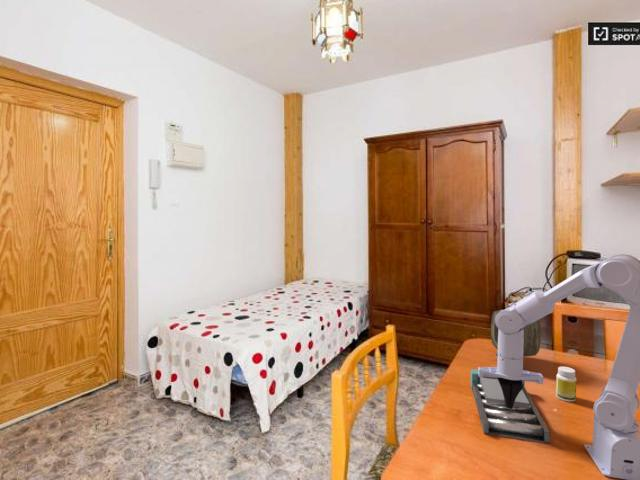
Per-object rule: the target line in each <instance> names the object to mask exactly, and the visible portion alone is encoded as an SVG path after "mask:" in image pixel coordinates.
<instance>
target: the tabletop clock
mask: <svg viewBox="0 0 640 480" xmlns="http://www.w3.org/2000/svg"><path fill="white" fill-rule="evenodd" d="M511 295H516V296H518V297H520V300H521V299H523V298H524V297H523V296H522V295H521V294H520V293H518V292H516V291H512V292H510V293H509V294H508V300H509V302H511V303H512V302H514V303H516V302H518V301H519V300H517V299H515V300H514V301H513V300H512V299H511ZM500 311H501V310H494V311H492V314H491V320H490V321H491V322H490V338H491V344H492V345H493V347H494V348H496V350H498V328H497V326H496V324H495V317H496V315H497V314H498V313H499V312H500ZM541 326H542V325H541V323H540V319H539V320H537V321H535V322H533V323H531V324H527V325H526V326H525V327H524V328H523V329H524V337H523V338H524V346H523V358H524V357H525V358H526V357H534V356H537V354H539V351H540V349H541V341H542V339H541V338H542V333H541V331H542V327H541ZM495 356H496V357H498V351H496V352H495Z"/></svg>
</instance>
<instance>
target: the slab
mask: <svg viewBox="0 0 640 480" xmlns="http://www.w3.org/2000/svg"><path fill="white" fill-rule="evenodd" d="M480 384H481V387H482V390H483V393H484V396H485V400H486V403H490V404H498V405H505V400H504V395H503V392H502V389H501V386H500V383H499V381H498V379H490V378H482V377H480ZM513 407H521V408H528V409H529V402H528V400H527V398H526V396H525V394H524V392H523V390H521V391H520V392H519V394H518V395H517V397H516V399H515V402H514V405H513Z"/></svg>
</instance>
